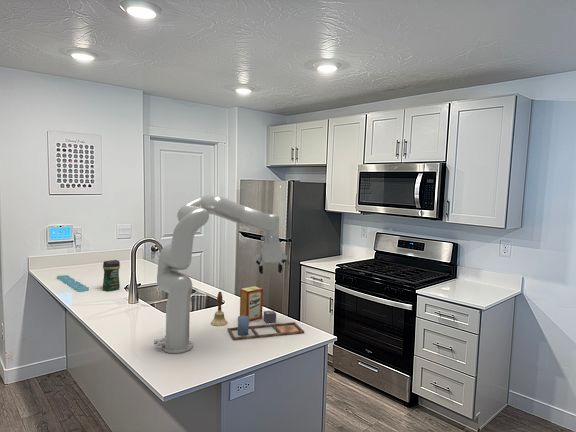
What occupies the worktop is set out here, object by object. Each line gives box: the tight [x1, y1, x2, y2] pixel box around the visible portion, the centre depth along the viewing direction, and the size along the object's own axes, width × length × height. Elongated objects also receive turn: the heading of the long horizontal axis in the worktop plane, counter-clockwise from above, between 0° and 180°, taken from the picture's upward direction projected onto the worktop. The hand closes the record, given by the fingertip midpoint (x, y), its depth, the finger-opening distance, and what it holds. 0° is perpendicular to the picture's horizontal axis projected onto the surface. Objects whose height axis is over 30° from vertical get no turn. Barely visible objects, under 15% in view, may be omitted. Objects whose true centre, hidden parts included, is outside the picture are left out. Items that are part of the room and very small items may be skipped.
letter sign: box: [56, 274, 90, 293], centre depth 262 cm, size 45×6×2 cm, turn 45°
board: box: [227, 321, 305, 341], centre depth 190 cm, size 34×13×1 cm, turn 110°
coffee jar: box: [102, 259, 121, 292], centre depth 252 cm, size 10×8×19 cm
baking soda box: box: [239, 285, 264, 322], centre depth 208 cm, size 10×6×16 cm
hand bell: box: [210, 291, 228, 327], centre depth 199 cm, size 8×8×16 cm
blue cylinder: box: [237, 315, 250, 337], centre depth 186 cm, size 5×5×8 cm
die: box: [263, 309, 277, 325], centre depth 204 cm, size 5×5×5 cm
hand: (270, 272), depth 202 cm, fingers open, 9 cm apart
